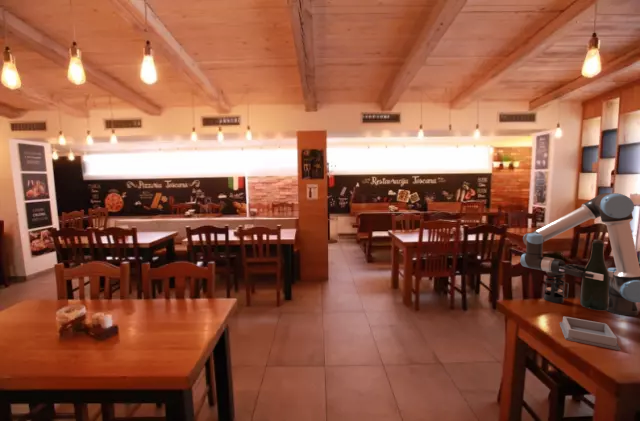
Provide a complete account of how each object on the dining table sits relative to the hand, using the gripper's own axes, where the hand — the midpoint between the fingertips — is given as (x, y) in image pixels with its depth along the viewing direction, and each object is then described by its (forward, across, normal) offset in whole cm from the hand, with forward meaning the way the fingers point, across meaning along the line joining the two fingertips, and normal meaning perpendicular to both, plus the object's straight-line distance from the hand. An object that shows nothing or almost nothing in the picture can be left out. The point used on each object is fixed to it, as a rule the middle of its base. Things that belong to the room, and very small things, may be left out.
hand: (607, 276), depth 148 cm
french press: (-30, -20, -26) cm, 44 cm away
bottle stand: (-1, +16, -25) cm, 30 cm away
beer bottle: (-4, 0, -17) cm, 17 cm away
